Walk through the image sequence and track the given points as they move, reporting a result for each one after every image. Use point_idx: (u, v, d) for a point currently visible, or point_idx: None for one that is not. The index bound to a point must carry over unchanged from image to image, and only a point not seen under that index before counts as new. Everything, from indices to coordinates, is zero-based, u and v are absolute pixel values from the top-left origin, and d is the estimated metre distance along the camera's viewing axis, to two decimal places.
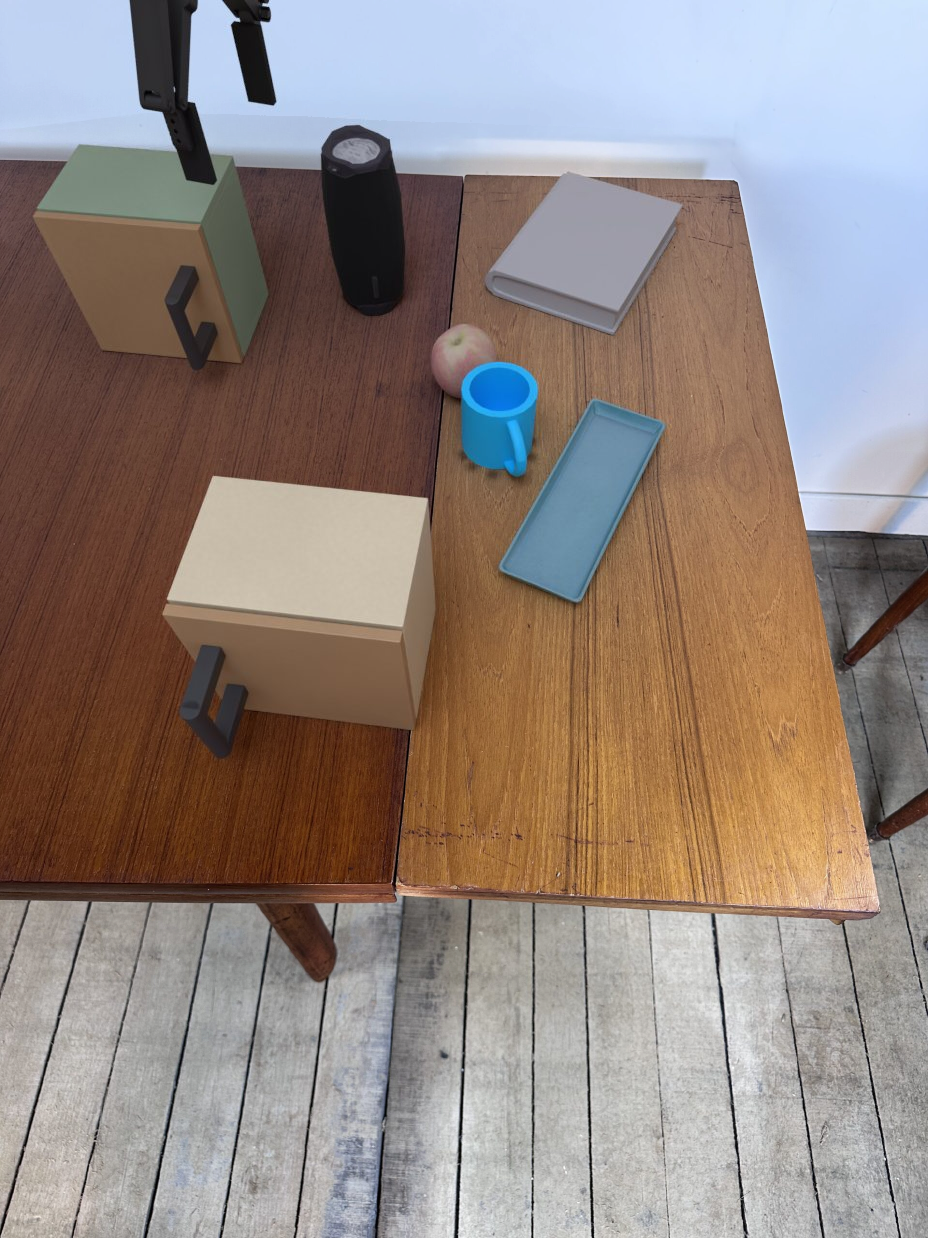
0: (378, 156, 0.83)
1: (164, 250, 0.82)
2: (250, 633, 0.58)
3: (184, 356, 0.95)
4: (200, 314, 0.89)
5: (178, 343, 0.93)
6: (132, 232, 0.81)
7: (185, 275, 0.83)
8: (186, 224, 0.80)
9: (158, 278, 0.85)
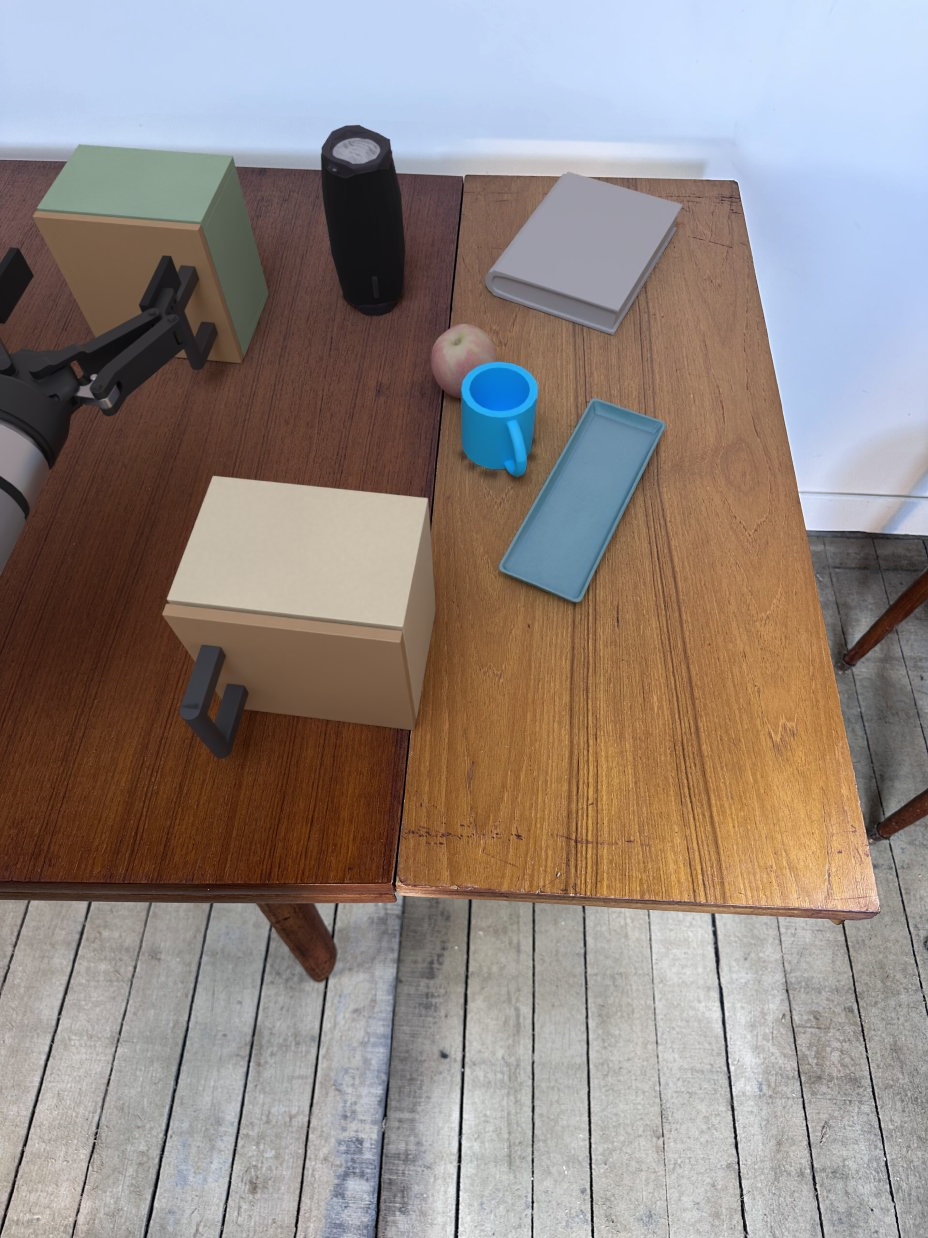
0: (378, 156, 0.83)
1: (164, 250, 0.82)
2: (250, 633, 0.58)
3: (184, 356, 0.95)
4: (200, 314, 0.89)
5: None
6: (132, 232, 0.81)
7: (185, 275, 0.83)
8: (186, 224, 0.80)
9: None
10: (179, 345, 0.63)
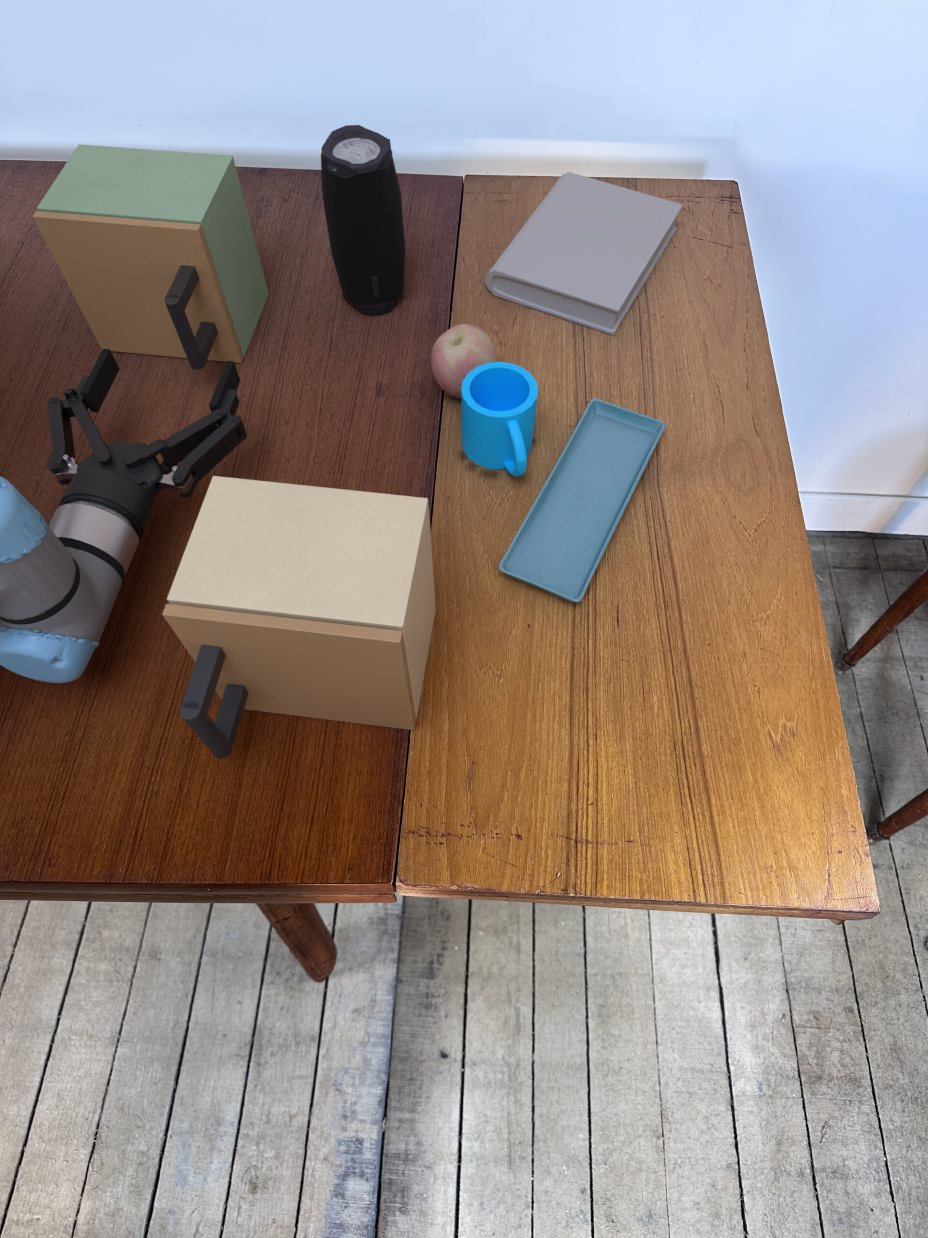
0: (378, 156, 0.83)
1: (164, 250, 0.82)
2: (250, 633, 0.58)
3: (184, 356, 0.95)
4: (200, 314, 0.89)
5: (178, 343, 0.93)
6: (132, 232, 0.81)
7: (185, 275, 0.83)
8: (186, 224, 0.80)
9: (158, 278, 0.85)
10: (240, 438, 0.78)
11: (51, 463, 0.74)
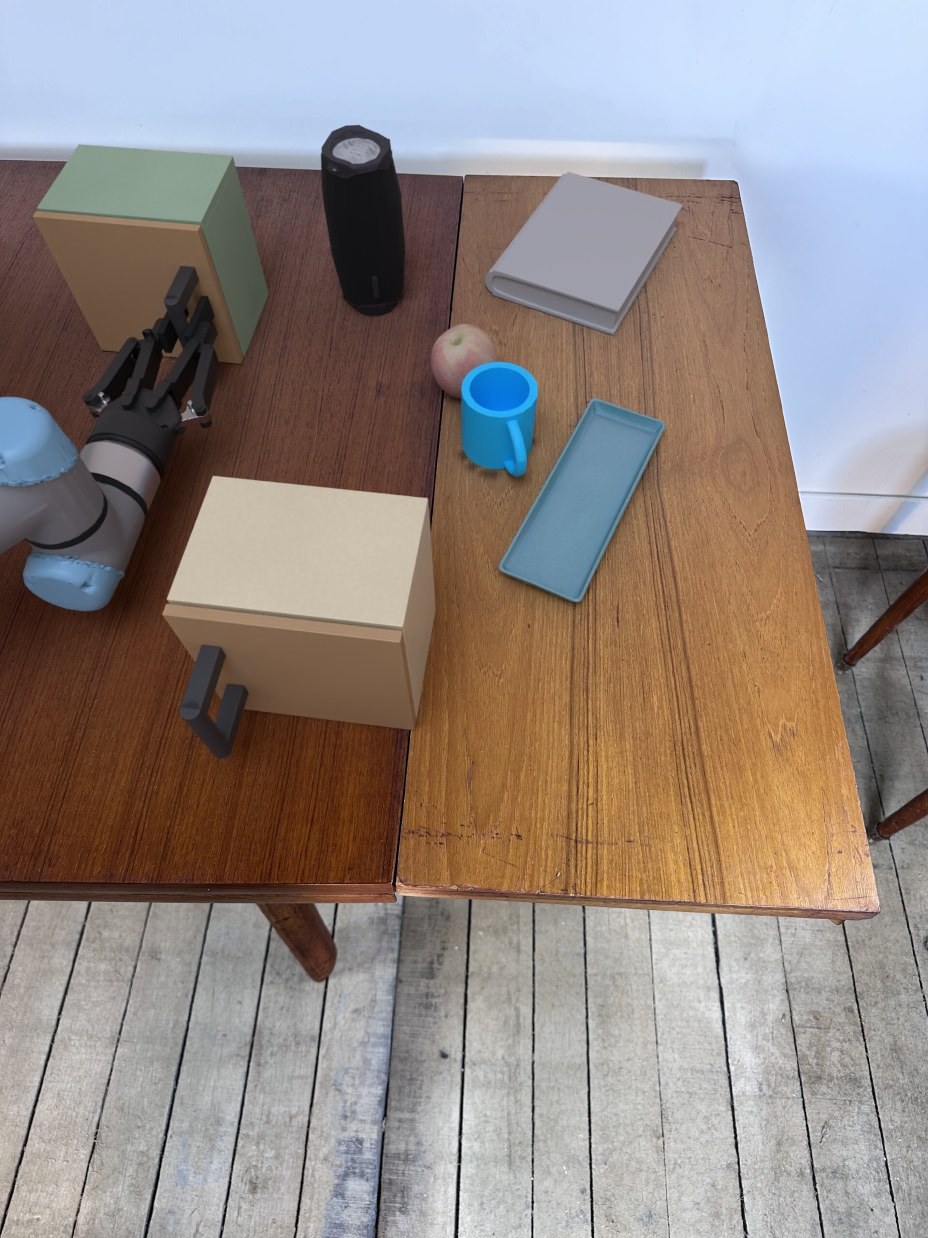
0: (378, 156, 0.83)
1: (164, 251, 0.82)
2: (250, 633, 0.58)
3: None
4: None
5: (178, 343, 0.93)
6: (132, 232, 0.81)
7: (185, 276, 0.83)
8: (186, 224, 0.80)
9: (158, 279, 0.85)
10: (217, 365, 0.83)
11: (85, 394, 0.78)
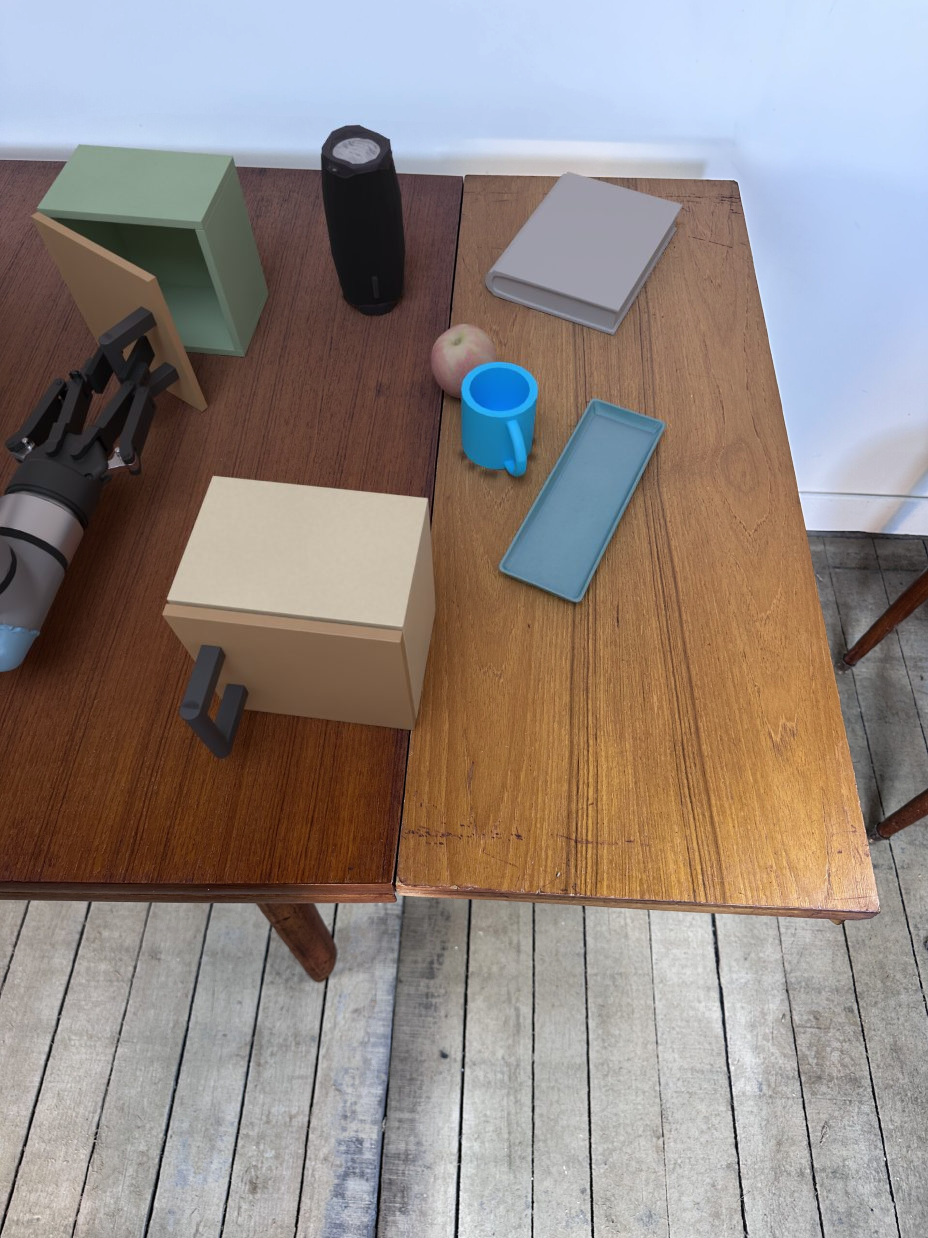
0: (378, 156, 0.83)
1: (127, 287, 0.79)
2: (250, 633, 0.58)
3: None
4: (163, 355, 0.86)
5: (152, 371, 0.91)
6: (101, 261, 0.78)
7: (136, 318, 0.79)
8: (143, 271, 0.76)
9: (128, 310, 0.83)
10: (153, 408, 0.80)
11: (8, 441, 0.75)
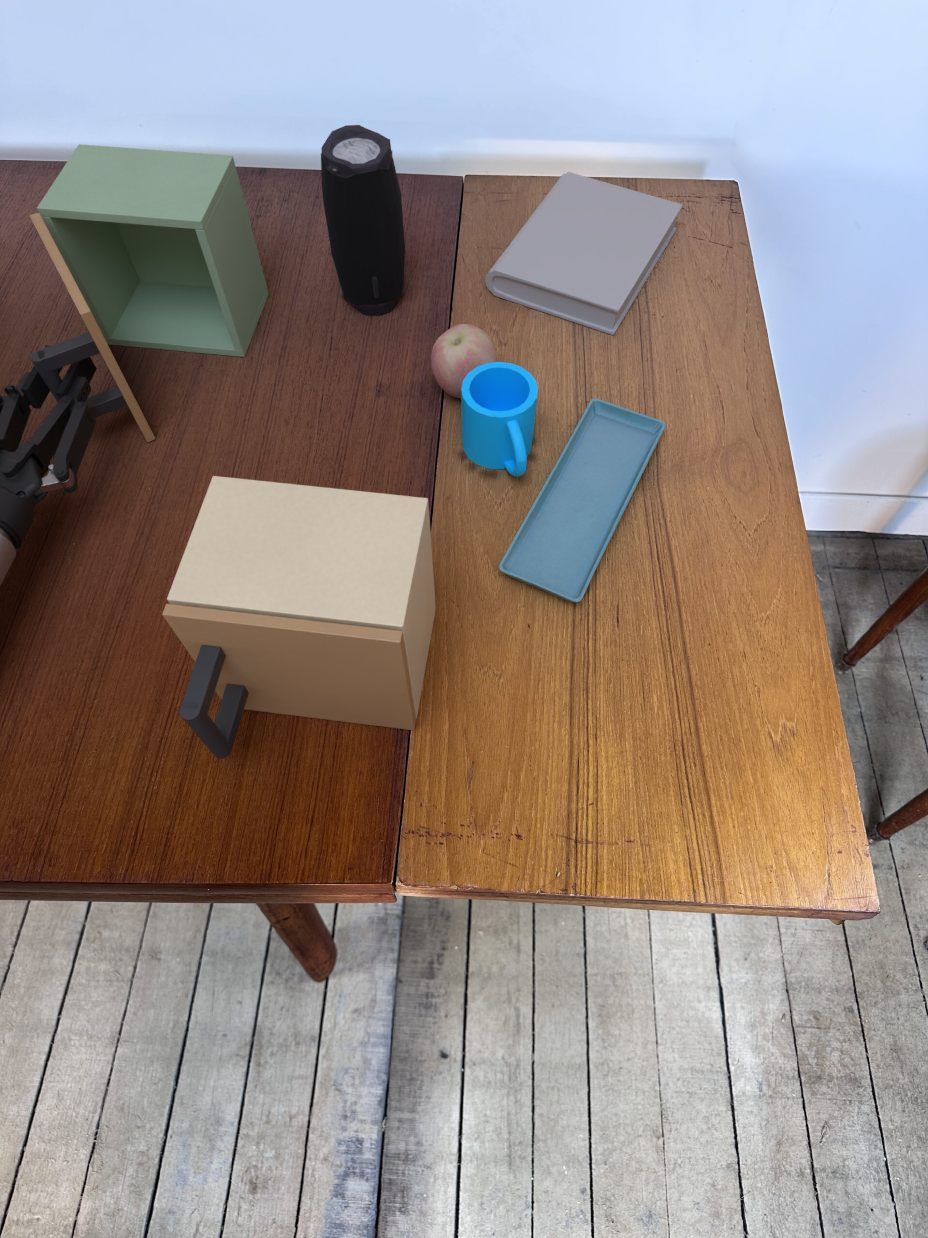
0: (378, 156, 0.83)
1: None
2: (250, 633, 0.58)
3: None
4: None
5: None
6: None
7: (76, 343, 0.77)
8: (83, 302, 0.74)
9: None
10: (92, 423, 0.79)
11: None
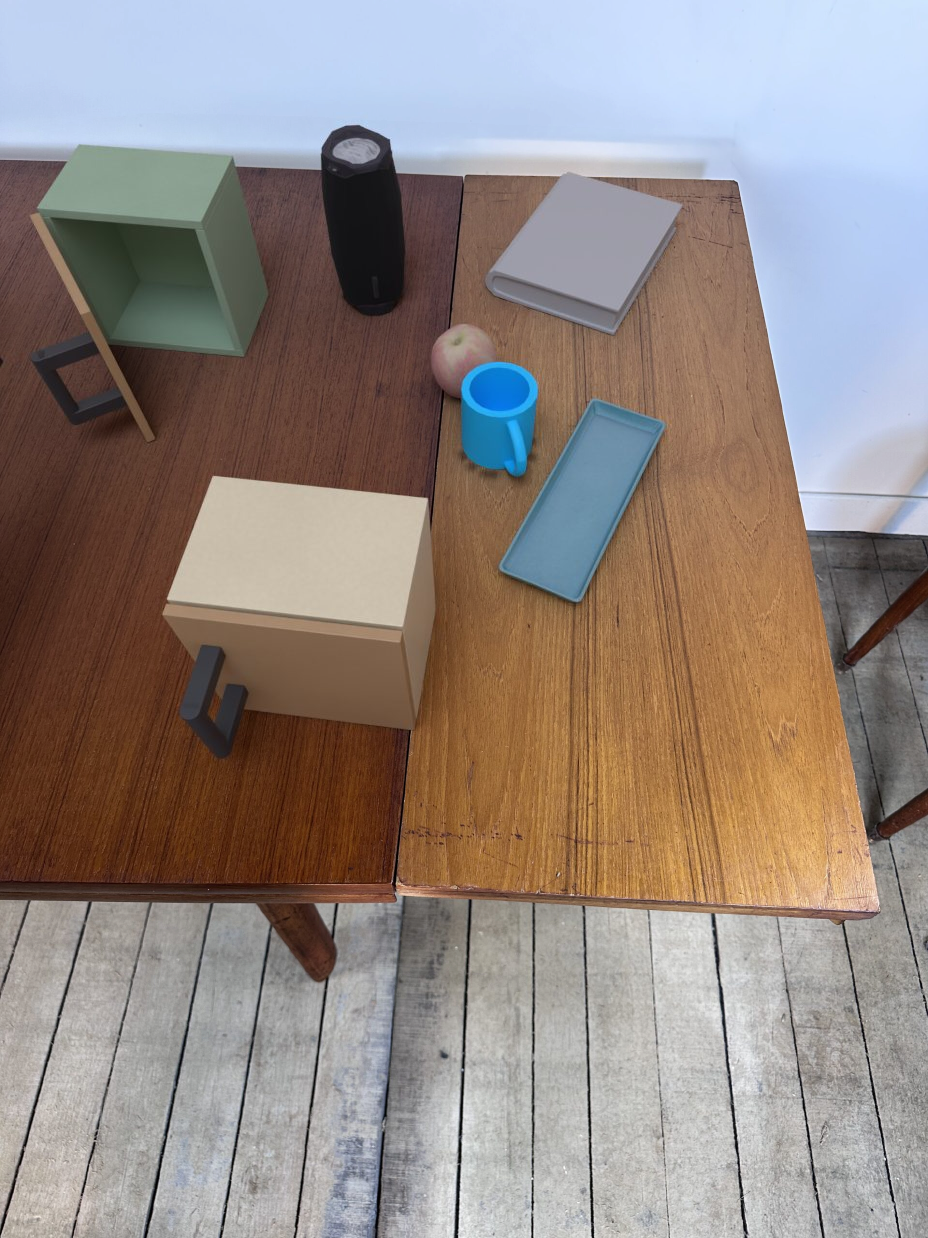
0: (378, 156, 0.83)
1: None
2: (250, 633, 0.58)
3: None
4: None
5: None
6: None
7: (76, 343, 0.77)
8: (83, 302, 0.74)
9: None
10: None
11: None
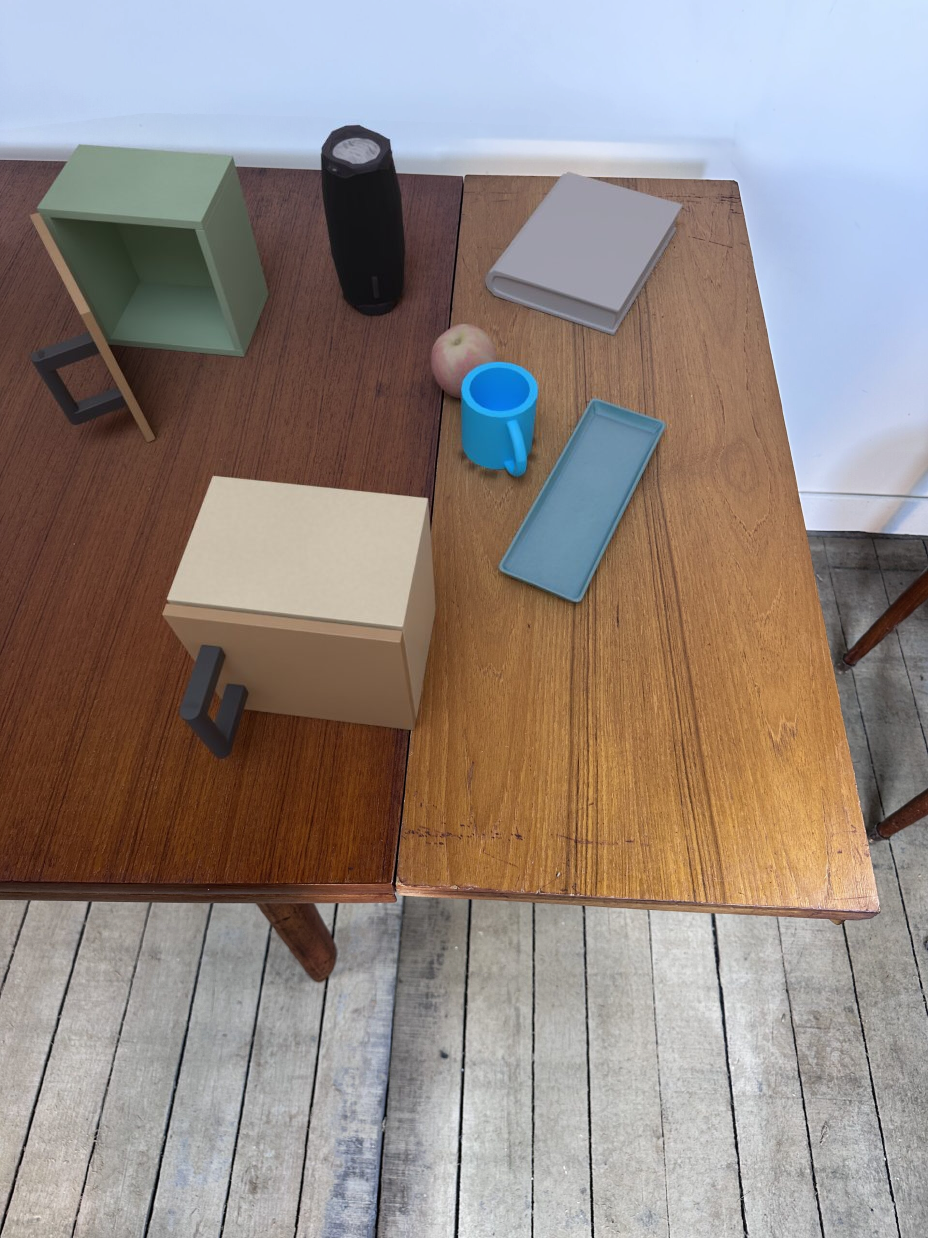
0: (378, 156, 0.83)
1: None
2: (250, 633, 0.58)
3: None
4: None
5: None
6: None
7: (76, 343, 0.77)
8: (83, 302, 0.74)
9: None
10: None
11: None
